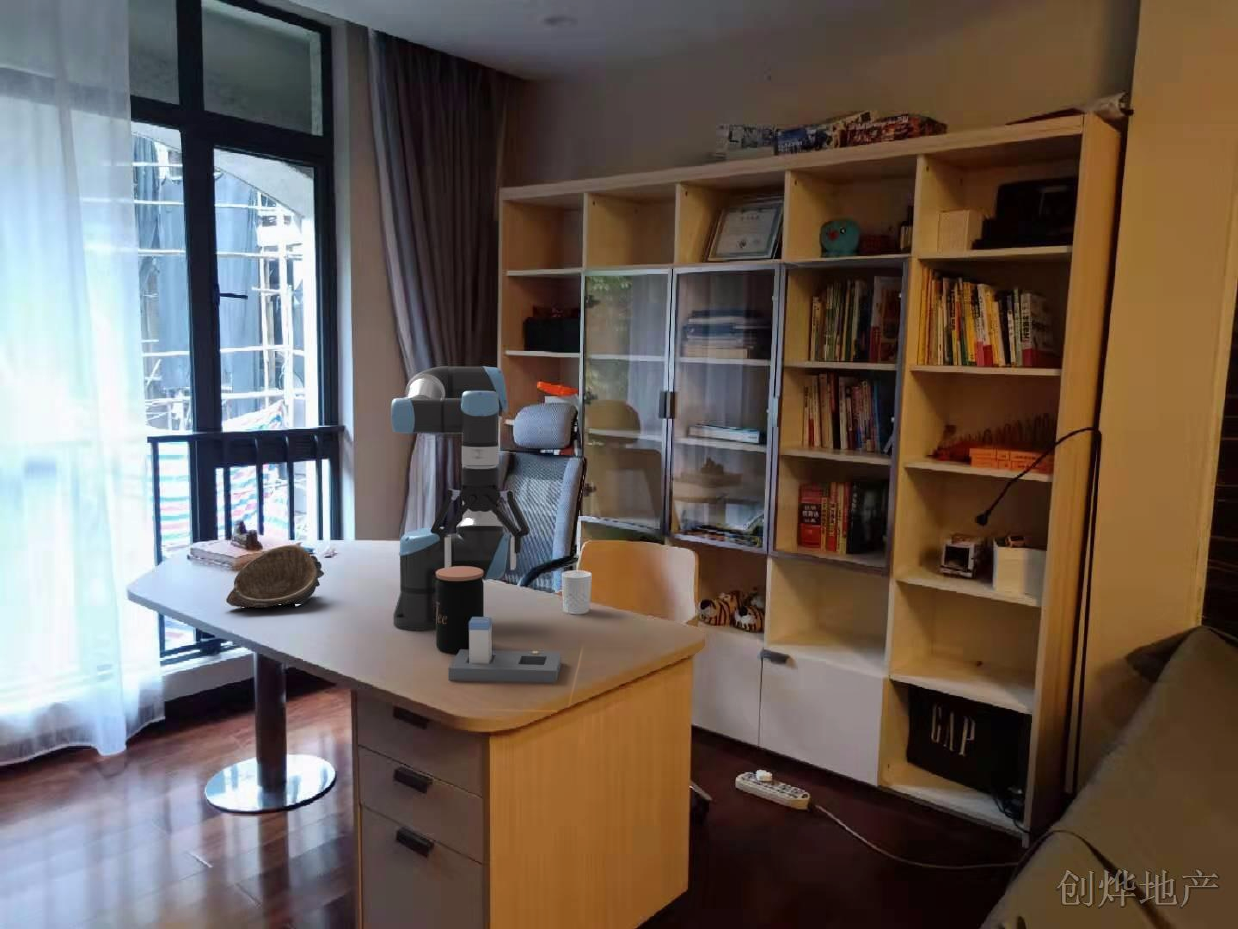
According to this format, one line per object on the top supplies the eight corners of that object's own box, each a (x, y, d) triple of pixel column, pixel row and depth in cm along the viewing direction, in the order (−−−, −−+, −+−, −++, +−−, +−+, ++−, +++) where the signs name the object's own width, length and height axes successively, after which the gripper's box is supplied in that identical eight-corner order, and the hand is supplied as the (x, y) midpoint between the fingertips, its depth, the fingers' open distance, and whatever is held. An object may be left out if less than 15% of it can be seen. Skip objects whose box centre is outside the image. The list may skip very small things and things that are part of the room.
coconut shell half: (234, 621, 228) (332, 582, 238) (213, 569, 234) (310, 533, 244) (242, 642, 240) (334, 605, 251) (222, 592, 246) (313, 558, 257)
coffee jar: (438, 641, 213) (438, 566, 211) (485, 641, 214) (484, 565, 212) (433, 656, 202) (432, 577, 200) (482, 656, 203) (482, 577, 201)
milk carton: (469, 673, 190) (468, 622, 189) (472, 667, 194) (472, 616, 193) (488, 674, 190) (488, 622, 189) (491, 667, 194) (491, 617, 193)
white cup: (587, 616, 235) (587, 578, 234) (557, 614, 237) (558, 576, 236) (594, 608, 243) (594, 571, 242) (565, 606, 245) (565, 569, 244)
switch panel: (448, 682, 187) (448, 666, 186) (460, 662, 198) (460, 648, 198) (555, 685, 186) (556, 669, 186) (561, 665, 198) (561, 650, 197)
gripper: (415, 467, 184) (416, 570, 186) (538, 469, 183) (538, 573, 186) (424, 463, 191) (425, 562, 194) (543, 465, 191) (542, 565, 193)
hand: (480, 568), depth 190 cm, fingers open, 13 cm apart
